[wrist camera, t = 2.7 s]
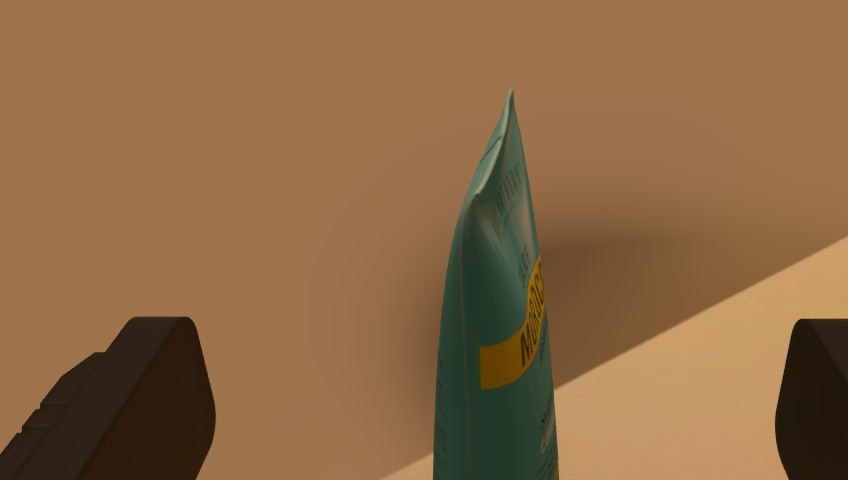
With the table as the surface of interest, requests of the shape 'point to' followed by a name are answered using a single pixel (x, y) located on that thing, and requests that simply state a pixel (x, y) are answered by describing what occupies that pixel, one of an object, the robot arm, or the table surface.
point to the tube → (495, 330)
